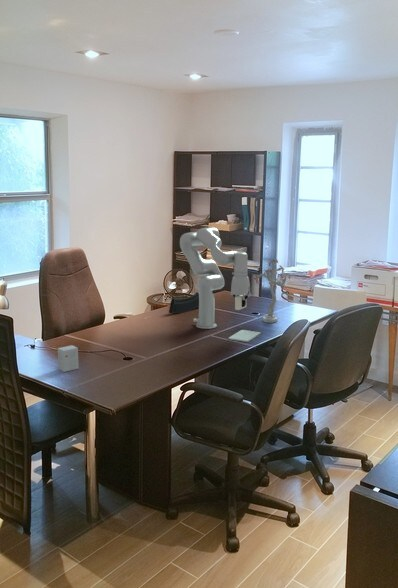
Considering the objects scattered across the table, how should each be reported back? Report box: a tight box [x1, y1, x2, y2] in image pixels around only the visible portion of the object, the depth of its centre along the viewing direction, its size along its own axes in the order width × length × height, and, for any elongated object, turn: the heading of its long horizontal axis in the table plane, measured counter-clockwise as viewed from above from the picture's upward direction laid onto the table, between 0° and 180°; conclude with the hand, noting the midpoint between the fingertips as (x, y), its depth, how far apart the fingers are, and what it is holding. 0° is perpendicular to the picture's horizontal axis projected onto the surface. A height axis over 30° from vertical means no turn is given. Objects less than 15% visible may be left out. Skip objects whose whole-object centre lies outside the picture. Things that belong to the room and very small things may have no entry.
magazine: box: [168, 292, 199, 314], centre depth 396 cm, size 17×3×30 cm
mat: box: [227, 329, 262, 343], centre depth 337 cm, size 12×20×1 cm, turn 153°
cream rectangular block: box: [234, 295, 247, 311], centre depth 333 cm, size 3×10×7 cm, turn 152°
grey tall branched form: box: [252, 258, 291, 324], centre depth 371 cm, size 28×24×40 cm
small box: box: [57, 344, 80, 373], centre depth 278 cm, size 8×6×10 cm
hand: (240, 306), depth 334 cm, fingers closed on cream rectangular block, 2 cm apart
